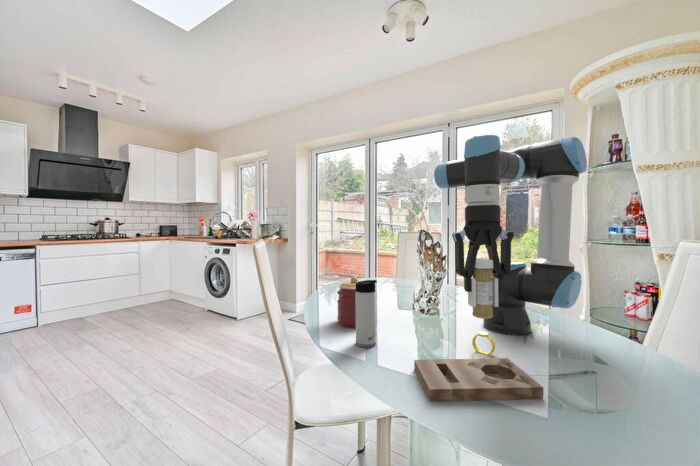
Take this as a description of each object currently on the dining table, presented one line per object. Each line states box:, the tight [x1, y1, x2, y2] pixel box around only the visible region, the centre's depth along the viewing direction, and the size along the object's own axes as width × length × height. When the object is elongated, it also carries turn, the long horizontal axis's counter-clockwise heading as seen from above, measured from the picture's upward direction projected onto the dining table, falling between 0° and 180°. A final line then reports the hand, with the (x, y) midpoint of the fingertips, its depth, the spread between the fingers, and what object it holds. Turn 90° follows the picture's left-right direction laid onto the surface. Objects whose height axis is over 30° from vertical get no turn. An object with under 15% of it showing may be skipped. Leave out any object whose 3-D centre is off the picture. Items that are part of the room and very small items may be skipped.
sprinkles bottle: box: [471, 257, 493, 320], centre depth 70 cm, size 5×5×14 cm
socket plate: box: [413, 357, 544, 402], centre depth 71 cm, size 24×14×2 cm, turn 91°
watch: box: [471, 331, 496, 356], centre depth 87 cm, size 6×3×6 cm, turn 45°
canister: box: [336, 276, 361, 329], centre depth 115 cm, size 13×13×18 cm
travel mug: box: [355, 279, 378, 349], centre depth 94 cm, size 6×7×20 cm
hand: (482, 305), depth 71 cm, fingers closed on sprinkles bottle, 4 cm apart
